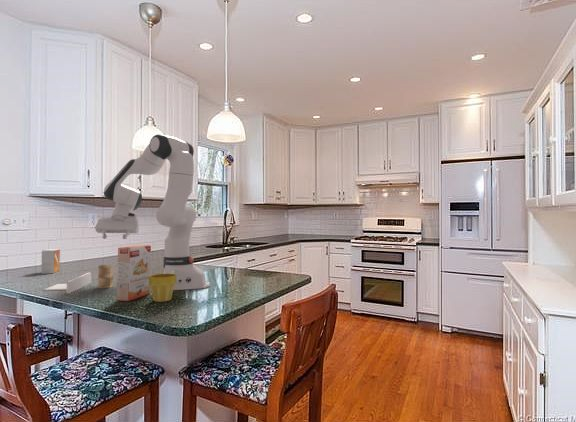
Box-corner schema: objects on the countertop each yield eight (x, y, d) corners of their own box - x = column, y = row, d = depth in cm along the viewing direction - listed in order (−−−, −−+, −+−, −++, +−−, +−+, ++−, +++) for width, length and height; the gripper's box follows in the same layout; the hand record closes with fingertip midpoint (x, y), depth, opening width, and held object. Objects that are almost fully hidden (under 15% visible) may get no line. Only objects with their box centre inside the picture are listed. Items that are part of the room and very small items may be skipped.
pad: (82, 284, 166) (82, 283, 166) (71, 290, 154) (71, 288, 154) (56, 285, 164) (56, 284, 164) (43, 290, 152) (43, 289, 152)
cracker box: (129, 302, 134) (130, 247, 134) (115, 301, 135) (116, 247, 136) (150, 294, 148) (151, 244, 148) (138, 293, 149) (138, 244, 149)
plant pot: (153, 296, 143) (153, 273, 143) (178, 296, 143) (179, 273, 144) (144, 303, 132) (144, 277, 133) (172, 303, 133) (172, 277, 133)
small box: (53, 273, 196) (54, 250, 196) (40, 273, 195) (41, 250, 195) (59, 271, 204) (60, 248, 204) (47, 271, 203) (47, 249, 203)
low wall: (91, 282, 171) (91, 272, 171) (69, 293, 147) (69, 281, 147) (88, 282, 171) (88, 272, 171) (66, 293, 147) (66, 281, 147)
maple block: (112, 286, 163) (113, 264, 164) (109, 287, 160) (110, 266, 160) (101, 286, 163) (101, 264, 163) (98, 288, 159) (98, 266, 159)
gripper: (97, 213, 179) (90, 233, 170) (139, 214, 183) (134, 234, 173) (100, 221, 184) (93, 241, 174) (141, 222, 187) (136, 242, 178)
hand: (114, 238), depth 174 cm, fingers open, 8 cm apart
